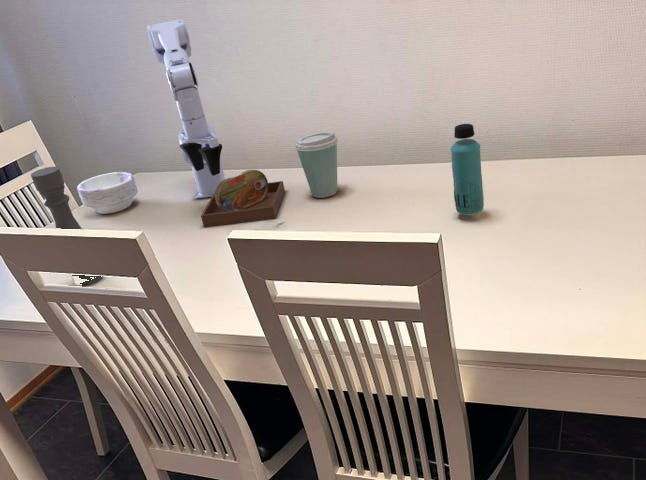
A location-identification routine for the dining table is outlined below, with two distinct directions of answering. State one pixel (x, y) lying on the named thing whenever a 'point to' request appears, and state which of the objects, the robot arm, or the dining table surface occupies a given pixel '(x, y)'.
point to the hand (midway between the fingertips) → (207, 172)
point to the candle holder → (58, 203)
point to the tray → (252, 213)
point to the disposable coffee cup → (319, 162)
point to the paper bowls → (108, 192)
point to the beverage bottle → (467, 171)
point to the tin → (241, 190)
